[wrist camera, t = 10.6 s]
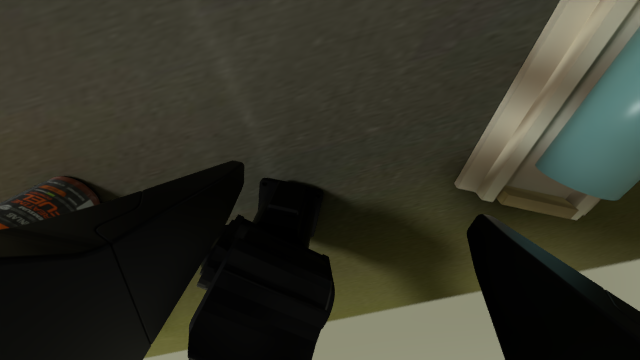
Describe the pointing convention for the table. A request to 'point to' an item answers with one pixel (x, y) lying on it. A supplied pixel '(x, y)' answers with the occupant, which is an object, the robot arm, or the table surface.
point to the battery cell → (602, 133)
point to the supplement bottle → (46, 201)
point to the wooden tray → (548, 107)
